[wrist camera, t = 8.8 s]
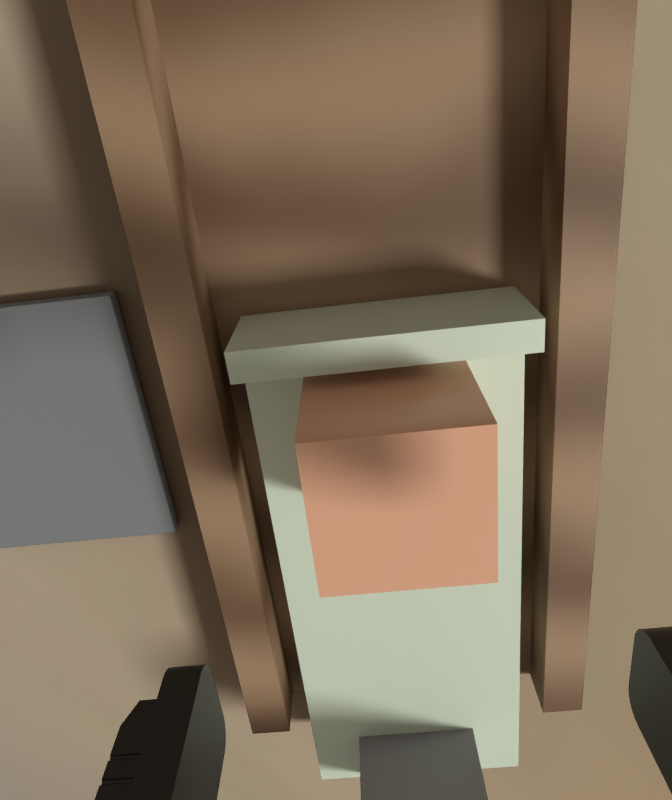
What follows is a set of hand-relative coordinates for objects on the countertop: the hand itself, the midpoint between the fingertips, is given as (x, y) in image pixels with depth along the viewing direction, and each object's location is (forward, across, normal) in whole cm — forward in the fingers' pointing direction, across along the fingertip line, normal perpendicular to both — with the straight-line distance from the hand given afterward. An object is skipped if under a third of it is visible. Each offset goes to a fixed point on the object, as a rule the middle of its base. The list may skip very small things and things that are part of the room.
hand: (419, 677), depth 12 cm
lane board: (+13, 0, -1) cm, 13 cm away
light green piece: (+11, 0, +7) cm, 13 cm away
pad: (+13, +14, 0) cm, 19 cm away
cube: (+10, 0, 0) cm, 10 cm away
